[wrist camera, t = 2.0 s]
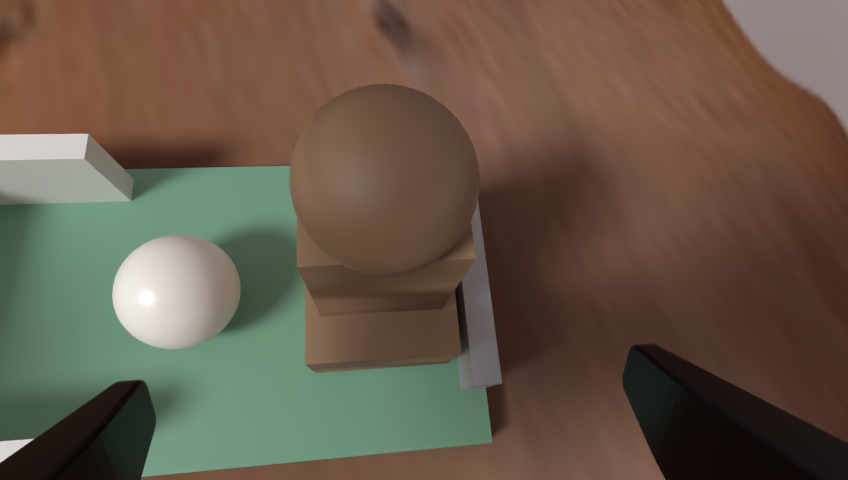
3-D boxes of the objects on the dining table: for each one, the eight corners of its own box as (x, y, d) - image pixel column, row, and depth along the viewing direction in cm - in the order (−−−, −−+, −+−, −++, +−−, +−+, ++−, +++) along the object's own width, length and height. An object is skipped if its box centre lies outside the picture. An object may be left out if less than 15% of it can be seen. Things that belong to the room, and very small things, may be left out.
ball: (200, 377, 18) (154, 367, 14) (120, 314, 18) (56, 288, 15) (273, 293, 19) (249, 263, 15) (197, 236, 20) (157, 194, 16)
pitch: (455, 172, 23) (474, 118, 19) (486, 441, 19) (519, 448, 15) (-30, 184, 20) (-133, 123, 16) (-113, 499, 16) (-279, 528, 12)
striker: (433, 220, 21) (503, 1, 10) (446, 363, 19) (555, 288, 8) (314, 225, 20) (248, -5, 9) (315, 373, 18) (232, 306, 7)
